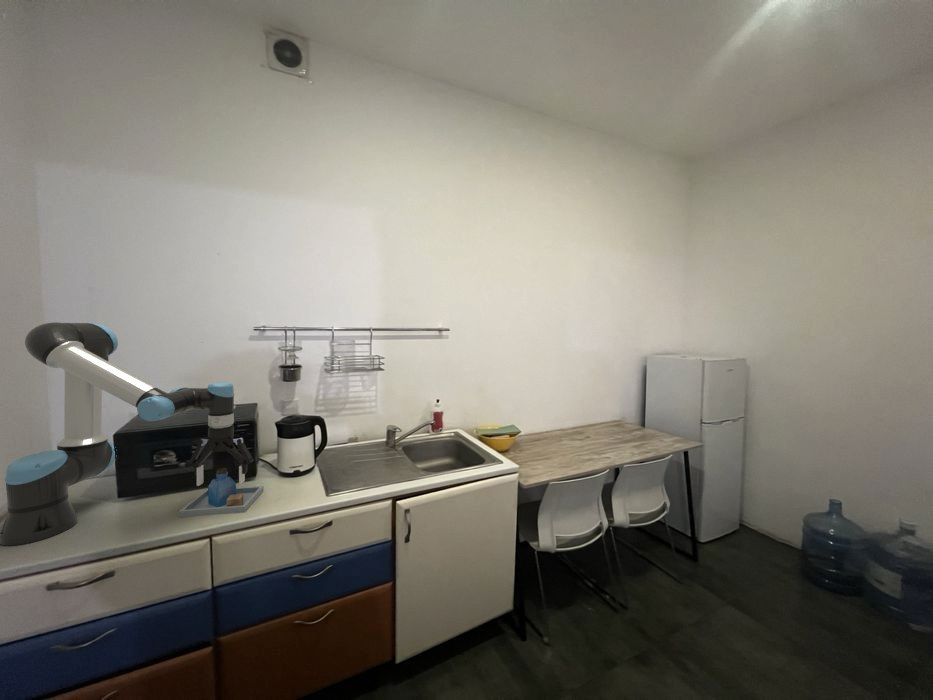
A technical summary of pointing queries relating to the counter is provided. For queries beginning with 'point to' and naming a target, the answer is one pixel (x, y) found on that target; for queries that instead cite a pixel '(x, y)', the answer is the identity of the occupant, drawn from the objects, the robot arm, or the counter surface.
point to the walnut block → (235, 500)
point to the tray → (204, 508)
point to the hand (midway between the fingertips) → (221, 483)
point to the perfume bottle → (221, 488)
